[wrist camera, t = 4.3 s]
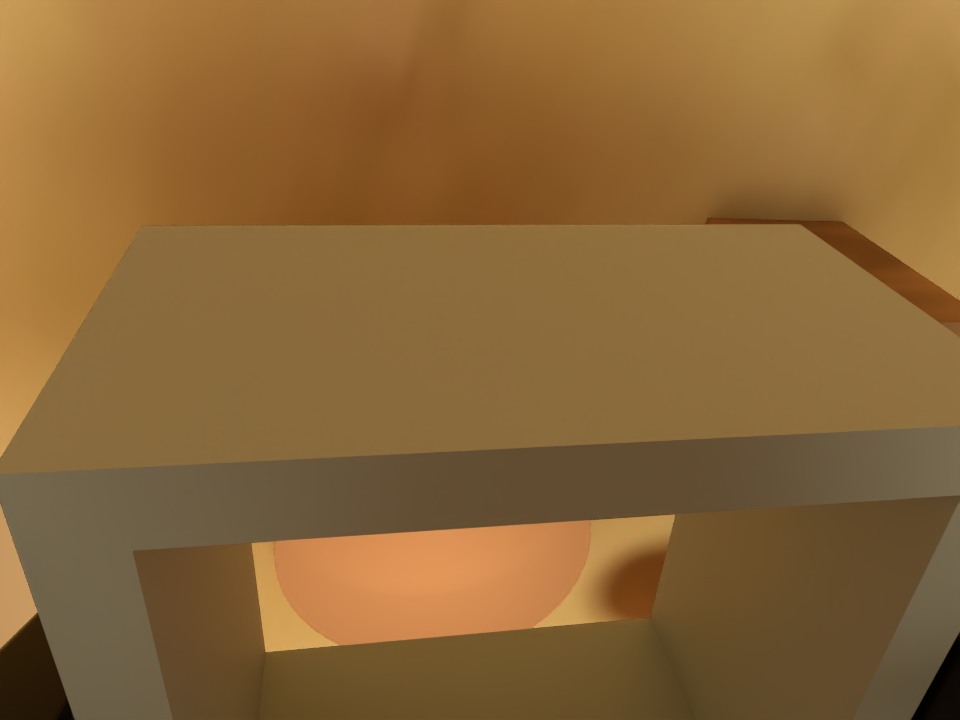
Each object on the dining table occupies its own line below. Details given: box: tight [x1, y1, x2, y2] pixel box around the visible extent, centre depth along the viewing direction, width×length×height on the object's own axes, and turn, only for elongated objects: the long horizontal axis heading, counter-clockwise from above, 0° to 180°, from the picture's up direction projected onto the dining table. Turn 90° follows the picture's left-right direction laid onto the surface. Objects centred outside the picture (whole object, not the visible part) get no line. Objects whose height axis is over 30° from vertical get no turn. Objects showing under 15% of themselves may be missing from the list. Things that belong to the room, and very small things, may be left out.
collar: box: [0, 224, 960, 720], centre depth 8 cm, size 7×7×4 cm
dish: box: [275, 520, 591, 646], centre depth 25 cm, size 10×10×1 cm
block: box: [706, 218, 960, 337], centre depth 20 cm, size 4×4×6 cm
